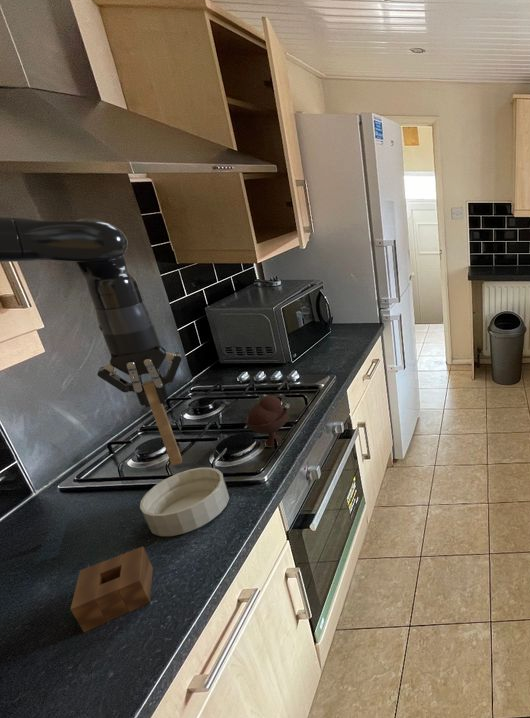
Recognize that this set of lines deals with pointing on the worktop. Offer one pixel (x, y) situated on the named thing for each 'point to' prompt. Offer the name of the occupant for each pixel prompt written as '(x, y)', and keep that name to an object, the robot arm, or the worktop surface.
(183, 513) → the mixing bowl
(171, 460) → the stick
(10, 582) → the worktop surface
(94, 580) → the stick holder
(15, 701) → the worktop surface
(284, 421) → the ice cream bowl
